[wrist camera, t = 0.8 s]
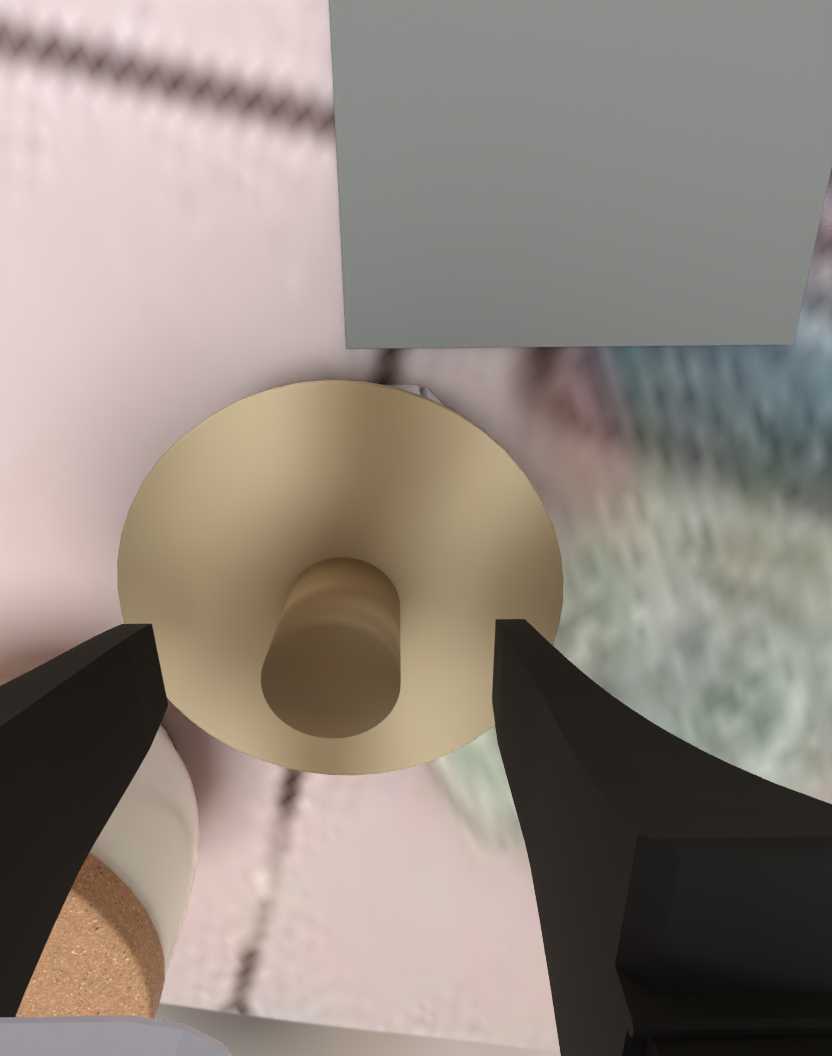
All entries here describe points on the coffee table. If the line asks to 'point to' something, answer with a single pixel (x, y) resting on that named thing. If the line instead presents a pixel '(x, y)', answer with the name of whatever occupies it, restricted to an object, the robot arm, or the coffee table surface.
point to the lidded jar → (124, 901)
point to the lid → (337, 574)
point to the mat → (579, 169)
